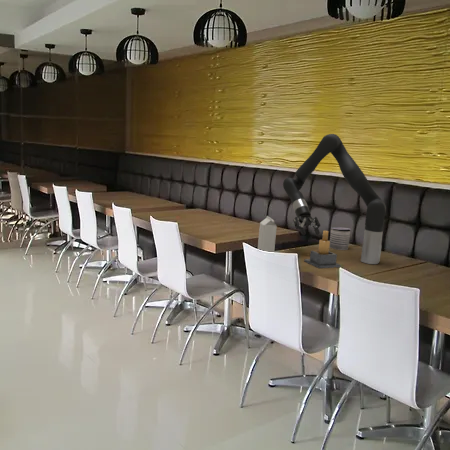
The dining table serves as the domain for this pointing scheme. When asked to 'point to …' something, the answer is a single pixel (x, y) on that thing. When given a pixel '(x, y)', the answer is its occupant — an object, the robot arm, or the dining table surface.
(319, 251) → the amber bottle
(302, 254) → the dining table surface
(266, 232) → the milk carton
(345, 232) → the can
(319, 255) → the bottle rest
